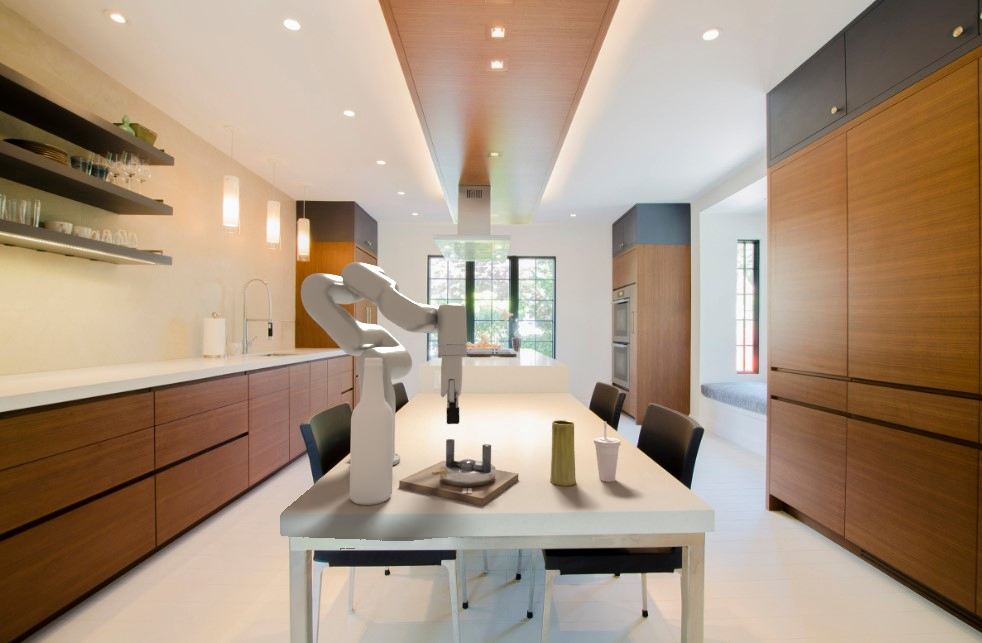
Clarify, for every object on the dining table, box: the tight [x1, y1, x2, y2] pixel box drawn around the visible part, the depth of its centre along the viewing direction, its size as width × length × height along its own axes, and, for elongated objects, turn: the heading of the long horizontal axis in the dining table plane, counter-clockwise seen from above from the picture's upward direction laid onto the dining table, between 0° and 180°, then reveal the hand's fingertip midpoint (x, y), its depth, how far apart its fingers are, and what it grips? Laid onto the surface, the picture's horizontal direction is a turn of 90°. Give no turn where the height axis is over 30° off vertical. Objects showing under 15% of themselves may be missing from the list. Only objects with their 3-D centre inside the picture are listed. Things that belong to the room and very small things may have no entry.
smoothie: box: [593, 421, 622, 483], centre depth 103 cm, size 6×6×14 cm
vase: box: [549, 419, 577, 487], centre depth 101 cm, size 6×6×14 cm
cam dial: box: [432, 438, 496, 487], centre depth 98 cm, size 13×14×8 cm
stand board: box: [398, 460, 519, 506], centre depth 99 cm, size 22×18×2 cm
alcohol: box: [349, 358, 394, 506], centre depth 90 cm, size 9×9×30 cm
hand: (453, 423), depth 107 cm, fingers closed
